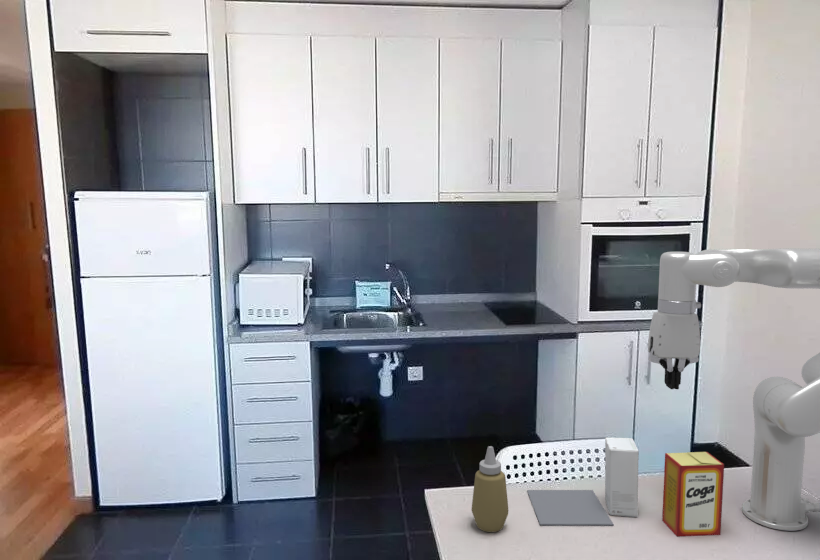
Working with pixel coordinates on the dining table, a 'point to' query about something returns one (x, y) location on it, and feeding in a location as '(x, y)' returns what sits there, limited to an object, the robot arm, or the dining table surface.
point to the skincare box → (621, 476)
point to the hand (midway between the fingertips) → (672, 387)
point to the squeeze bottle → (490, 495)
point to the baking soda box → (693, 493)
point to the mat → (568, 508)
